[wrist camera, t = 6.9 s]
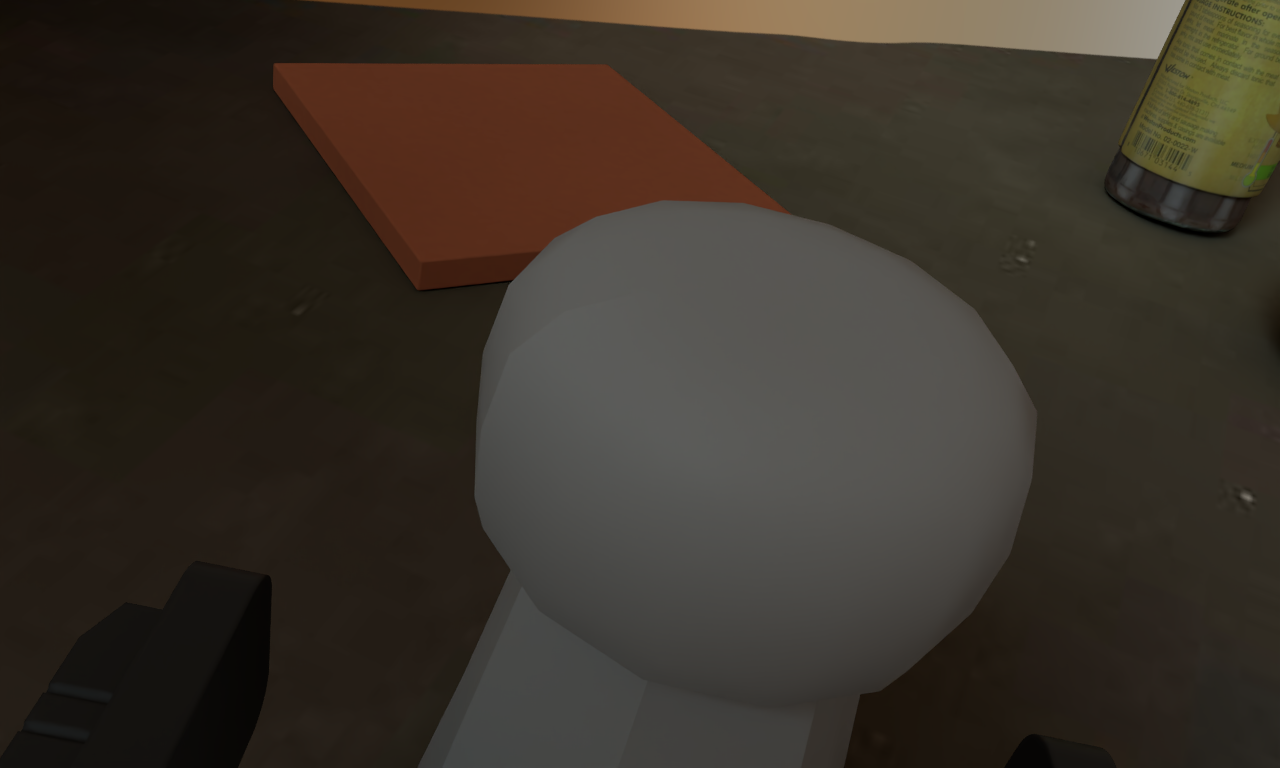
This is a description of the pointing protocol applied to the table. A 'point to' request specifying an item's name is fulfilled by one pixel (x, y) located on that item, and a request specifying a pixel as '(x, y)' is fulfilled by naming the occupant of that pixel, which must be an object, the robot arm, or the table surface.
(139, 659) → the robot arm
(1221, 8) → the sauce bottle
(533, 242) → the mat
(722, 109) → the table surface
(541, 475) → the salt shaker
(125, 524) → the table surface
